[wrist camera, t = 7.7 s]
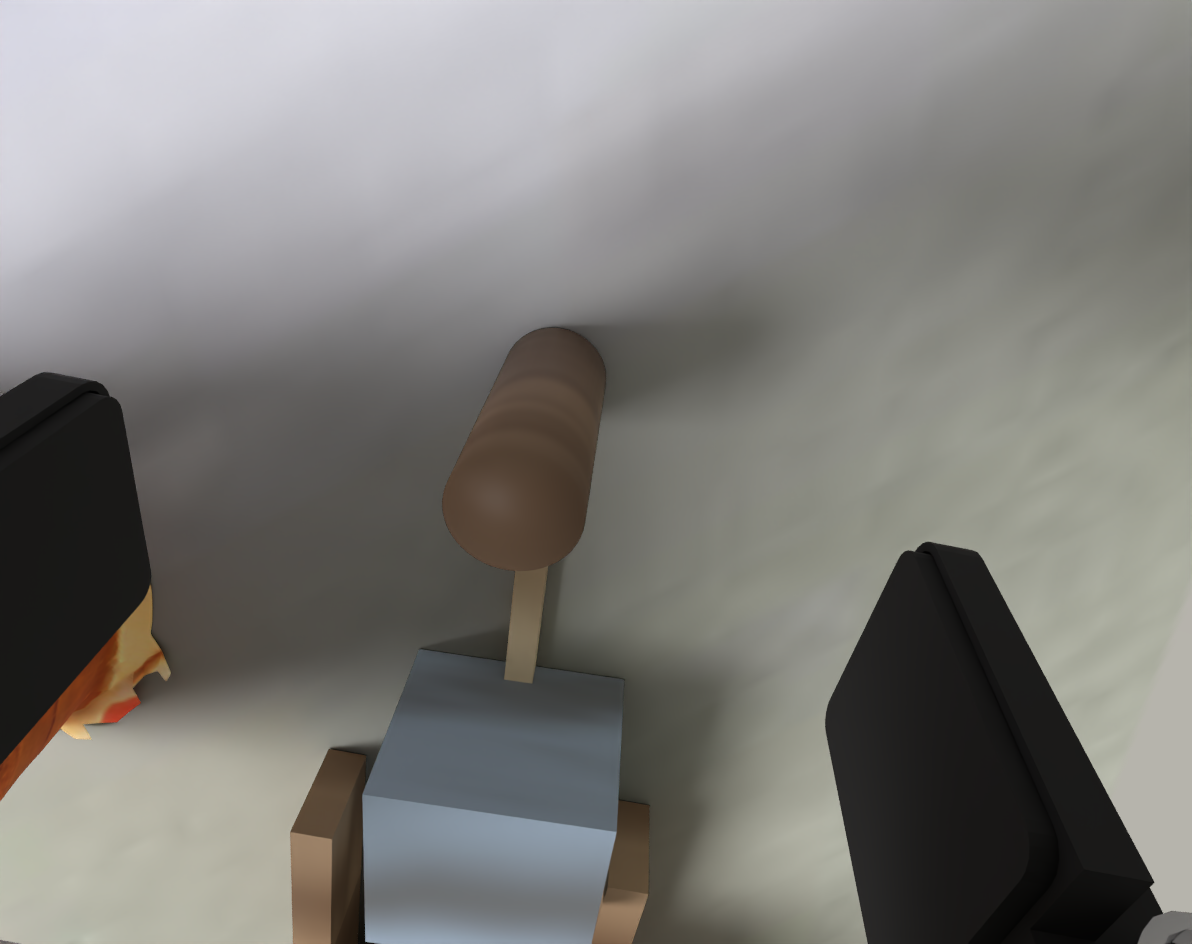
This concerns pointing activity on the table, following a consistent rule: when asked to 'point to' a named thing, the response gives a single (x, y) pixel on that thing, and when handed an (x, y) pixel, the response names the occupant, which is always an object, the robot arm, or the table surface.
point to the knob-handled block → (504, 698)
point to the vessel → (95, 691)
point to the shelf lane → (335, 855)
